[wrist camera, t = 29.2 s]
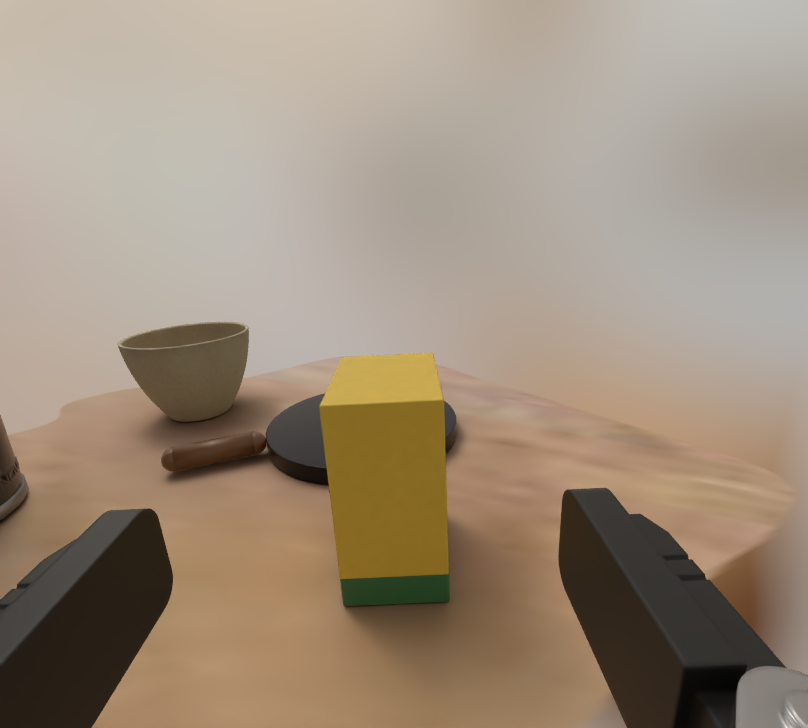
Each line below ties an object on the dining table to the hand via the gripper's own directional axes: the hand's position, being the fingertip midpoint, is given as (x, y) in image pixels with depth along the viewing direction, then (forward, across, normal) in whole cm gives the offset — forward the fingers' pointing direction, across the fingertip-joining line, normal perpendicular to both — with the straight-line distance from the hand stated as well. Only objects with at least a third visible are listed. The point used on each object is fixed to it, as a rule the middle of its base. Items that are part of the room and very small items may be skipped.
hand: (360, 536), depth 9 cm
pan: (+22, +6, +9) cm, 24 cm away
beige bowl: (+29, +18, +9) cm, 35 cm away
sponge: (+10, 0, +9) cm, 13 cm away
